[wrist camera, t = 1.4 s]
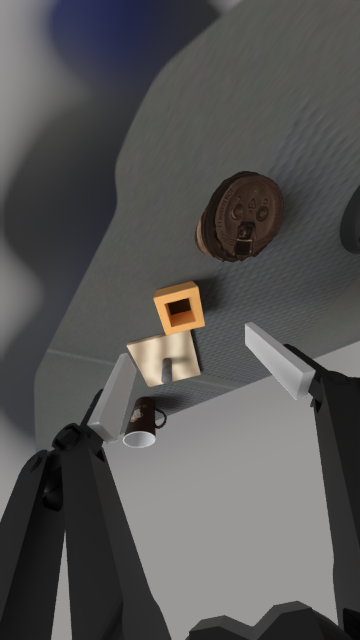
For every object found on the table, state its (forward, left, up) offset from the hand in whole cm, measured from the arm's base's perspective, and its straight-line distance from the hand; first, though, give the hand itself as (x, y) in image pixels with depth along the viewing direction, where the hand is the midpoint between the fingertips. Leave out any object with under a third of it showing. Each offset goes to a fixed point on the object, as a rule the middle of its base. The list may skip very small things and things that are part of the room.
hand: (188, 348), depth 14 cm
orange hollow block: (0, 0, -17) cm, 17 cm away
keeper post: (+7, +15, -17) cm, 24 cm away
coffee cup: (-9, -11, -17) cm, 22 cm away
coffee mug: (+18, +32, -17) cm, 41 cm away
